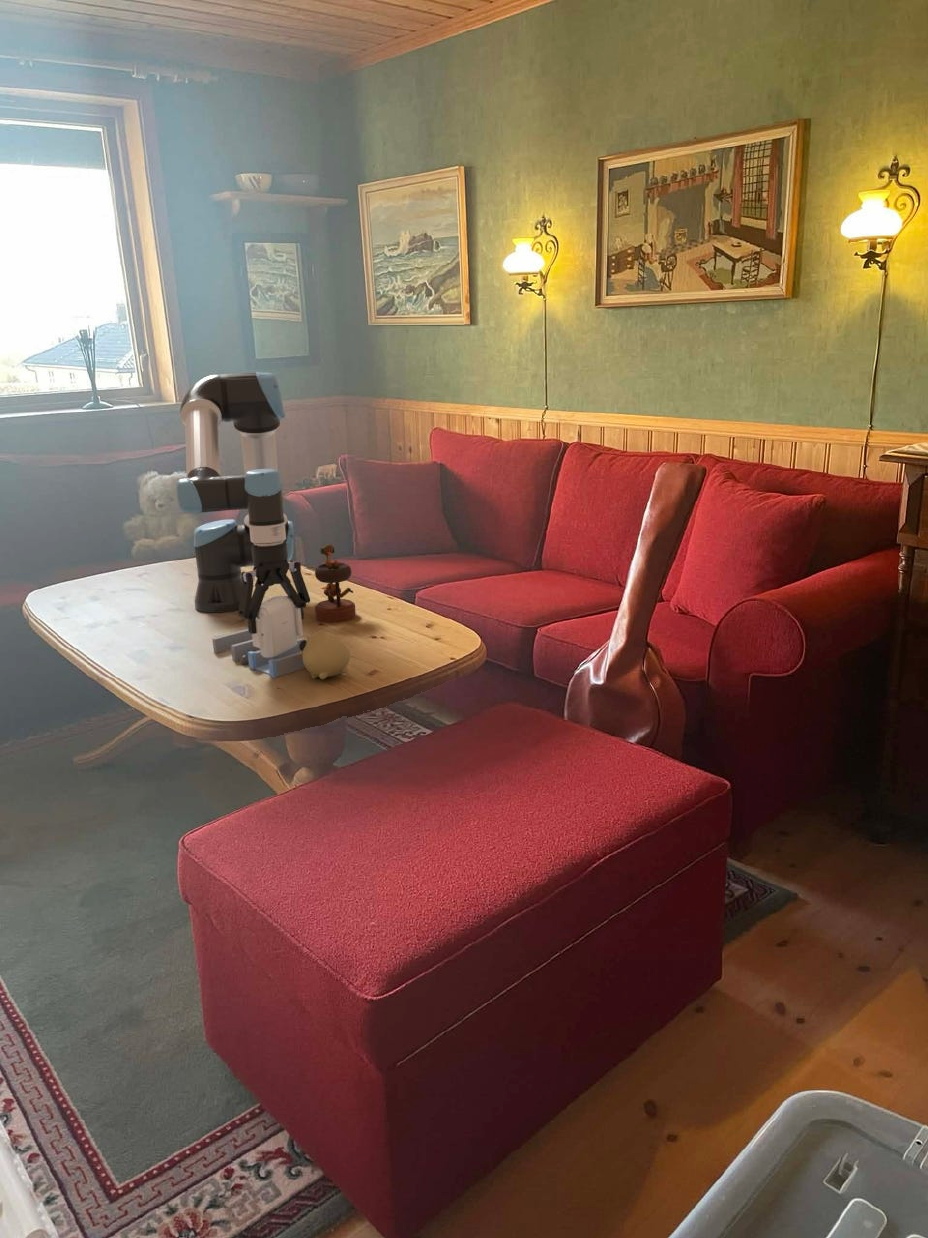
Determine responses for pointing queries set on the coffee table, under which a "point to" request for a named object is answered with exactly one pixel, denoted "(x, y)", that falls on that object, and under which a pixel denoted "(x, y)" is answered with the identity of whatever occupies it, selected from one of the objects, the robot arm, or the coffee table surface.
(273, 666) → the grey shelf rack
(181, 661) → the coffee table surface
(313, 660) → the tan frog figure
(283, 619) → the photo printer
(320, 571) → the music box
